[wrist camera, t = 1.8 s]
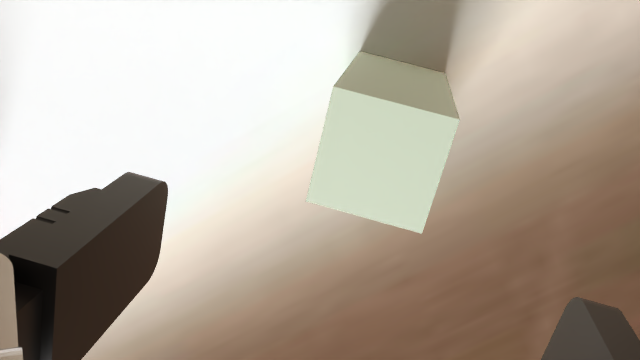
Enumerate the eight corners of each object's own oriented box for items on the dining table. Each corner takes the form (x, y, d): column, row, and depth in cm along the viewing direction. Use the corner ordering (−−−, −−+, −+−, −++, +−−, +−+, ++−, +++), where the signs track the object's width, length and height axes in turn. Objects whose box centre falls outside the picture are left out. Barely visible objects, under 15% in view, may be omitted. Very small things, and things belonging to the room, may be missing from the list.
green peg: (445, 72, 25) (459, 119, 17) (419, 153, 27) (421, 233, 18) (360, 51, 26) (333, 86, 17) (339, 132, 27) (305, 201, 19)
